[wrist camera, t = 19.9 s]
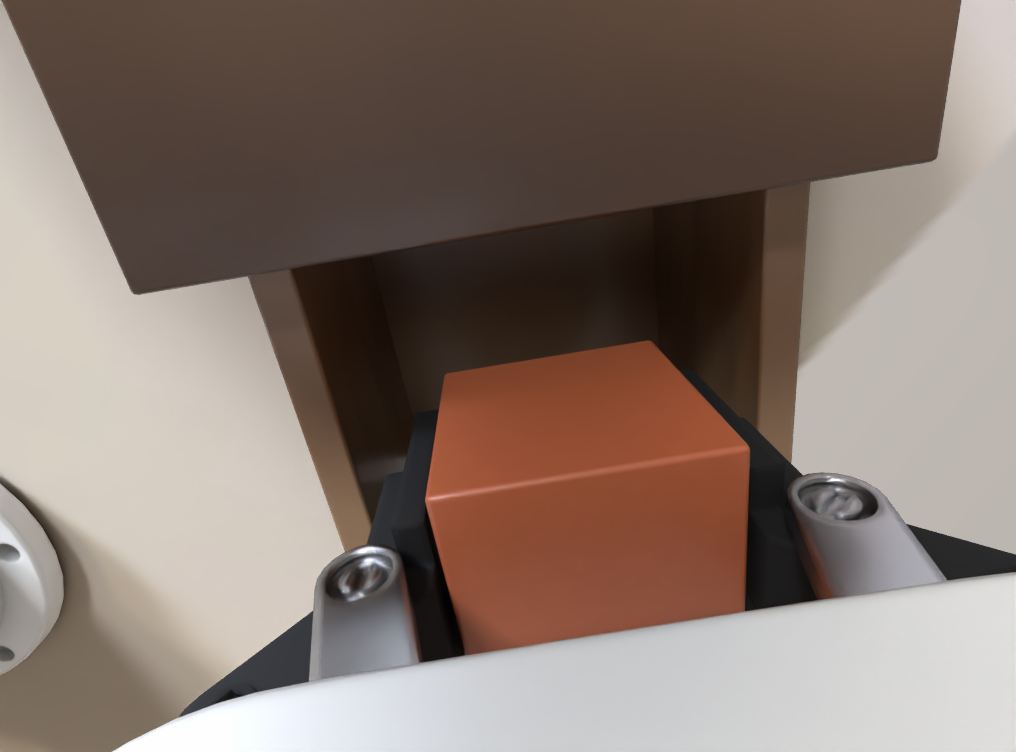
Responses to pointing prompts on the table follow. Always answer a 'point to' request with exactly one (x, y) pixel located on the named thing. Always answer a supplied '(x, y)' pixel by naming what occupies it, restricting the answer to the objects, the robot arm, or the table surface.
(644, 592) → the block
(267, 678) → the robot arm
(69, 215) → the table surface
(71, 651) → the table surface
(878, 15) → the cabinet
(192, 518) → the table surface
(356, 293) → the drawer
